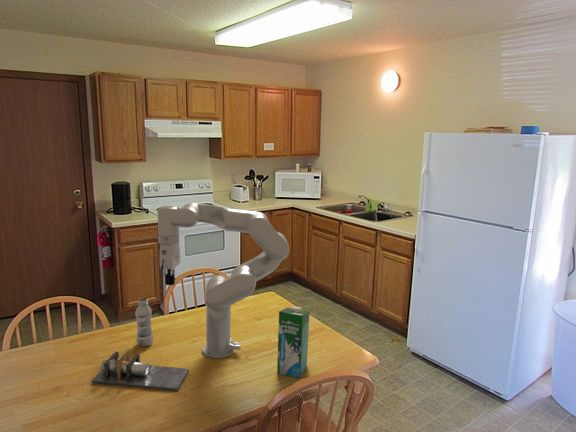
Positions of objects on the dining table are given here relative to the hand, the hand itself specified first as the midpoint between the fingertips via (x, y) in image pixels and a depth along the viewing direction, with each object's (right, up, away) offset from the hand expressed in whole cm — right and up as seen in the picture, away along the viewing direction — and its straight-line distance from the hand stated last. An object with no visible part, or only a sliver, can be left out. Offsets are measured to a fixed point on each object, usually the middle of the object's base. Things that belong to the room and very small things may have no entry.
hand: (170, 284), depth 162 cm
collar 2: (-10, -31, -11) cm, 34 cm away
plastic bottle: (-14, -27, +11) cm, 32 cm away
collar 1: (-18, -30, -10) cm, 37 cm away
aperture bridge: (-14, -30, -11) cm, 35 cm away
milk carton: (+47, -32, -3) cm, 57 cm away
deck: (-7, -32, -11) cm, 34 cm away
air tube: (-13, -30, -11) cm, 35 cm away
